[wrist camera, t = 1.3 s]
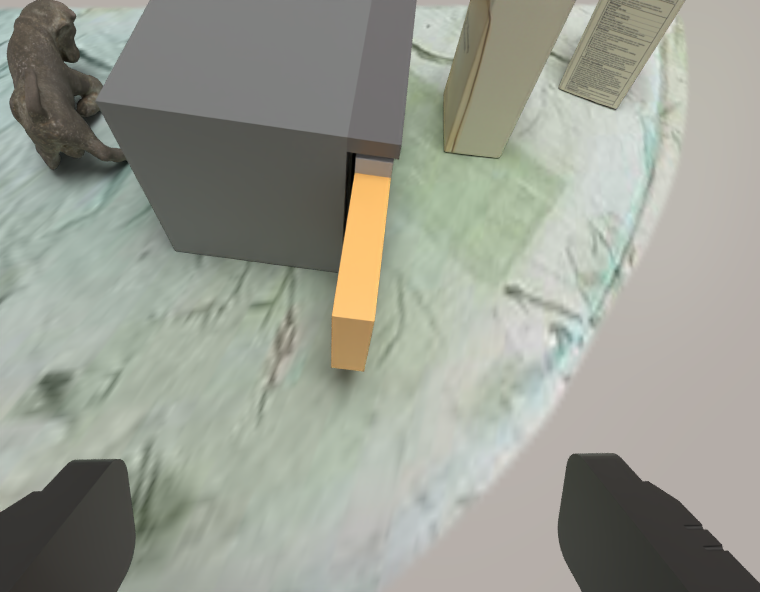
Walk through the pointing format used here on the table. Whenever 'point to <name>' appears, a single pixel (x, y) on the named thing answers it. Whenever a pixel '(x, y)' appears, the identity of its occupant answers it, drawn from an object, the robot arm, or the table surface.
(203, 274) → the table surface
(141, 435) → the table surface
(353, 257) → the door
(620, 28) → the skincare box
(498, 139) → the skincare box
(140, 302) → the table surface
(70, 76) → the dog figurine
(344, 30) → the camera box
